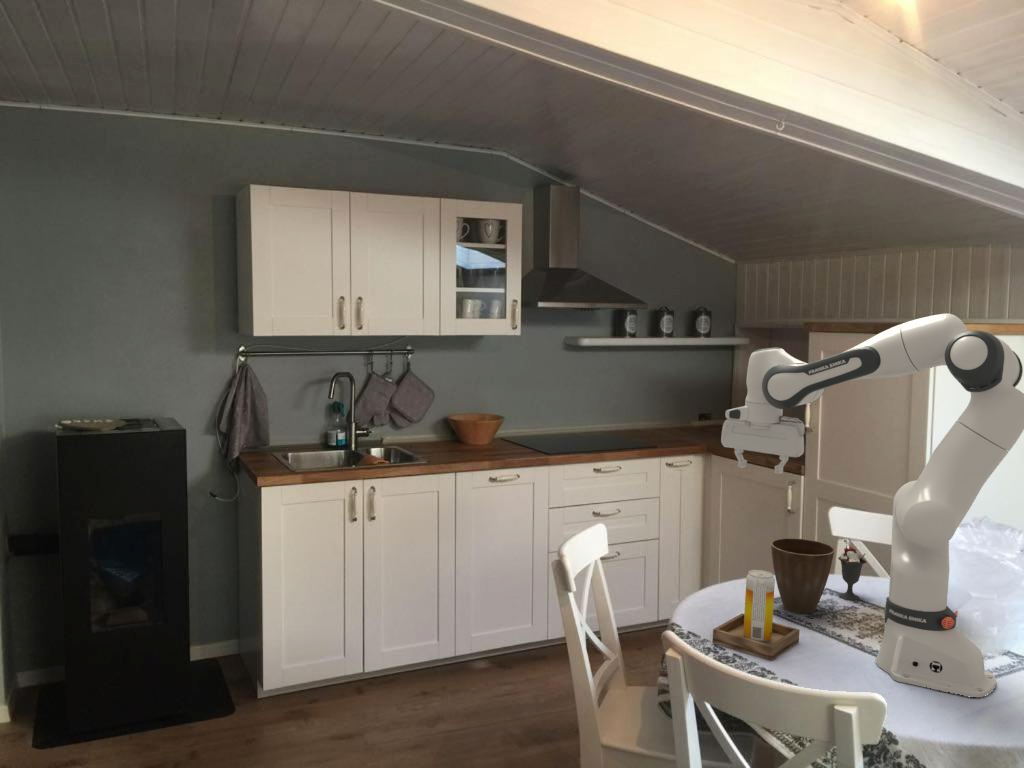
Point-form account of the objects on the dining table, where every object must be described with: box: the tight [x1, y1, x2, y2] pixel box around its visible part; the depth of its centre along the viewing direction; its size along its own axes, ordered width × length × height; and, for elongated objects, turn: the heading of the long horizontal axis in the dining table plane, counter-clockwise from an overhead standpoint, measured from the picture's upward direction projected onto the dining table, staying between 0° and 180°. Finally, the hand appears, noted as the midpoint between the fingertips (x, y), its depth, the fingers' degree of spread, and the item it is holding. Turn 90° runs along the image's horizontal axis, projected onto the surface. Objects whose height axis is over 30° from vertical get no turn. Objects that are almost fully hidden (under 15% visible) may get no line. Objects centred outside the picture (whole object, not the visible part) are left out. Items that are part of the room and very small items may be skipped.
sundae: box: [837, 539, 867, 601], centre depth 225 cm, size 7×7×15 cm
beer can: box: [743, 569, 776, 643], centre depth 192 cm, size 6×6×15 cm
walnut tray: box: [712, 613, 801, 662], centre depth 193 cm, size 14×14×3 cm
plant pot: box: [770, 537, 835, 615], centre depth 215 cm, size 15×15×16 cm
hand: (760, 470), depth 211 cm, fingers open, 8 cm apart
